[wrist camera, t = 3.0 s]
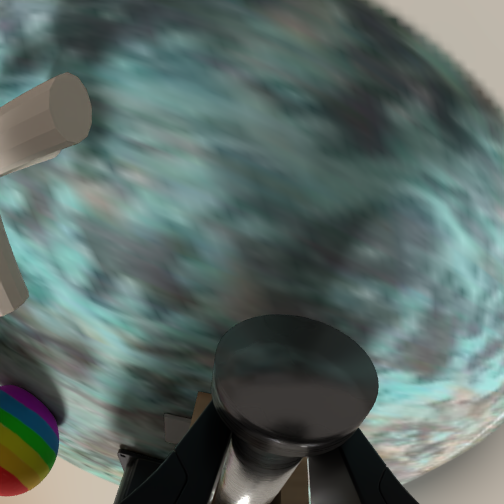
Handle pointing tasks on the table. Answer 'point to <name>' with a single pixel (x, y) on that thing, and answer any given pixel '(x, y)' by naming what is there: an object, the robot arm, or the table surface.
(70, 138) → the pipe connector
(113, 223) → the table surface
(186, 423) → the mat
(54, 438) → the decorative egg
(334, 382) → the shaft
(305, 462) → the pillow blocks
